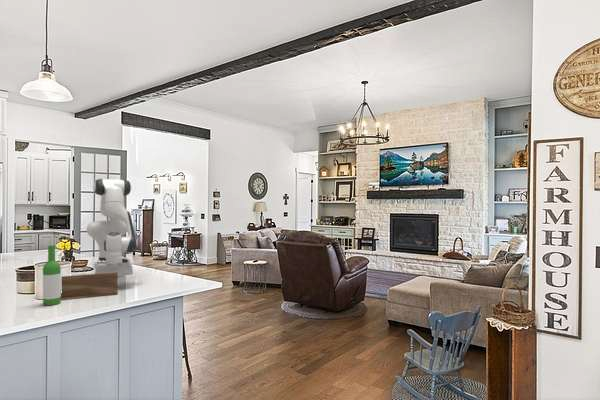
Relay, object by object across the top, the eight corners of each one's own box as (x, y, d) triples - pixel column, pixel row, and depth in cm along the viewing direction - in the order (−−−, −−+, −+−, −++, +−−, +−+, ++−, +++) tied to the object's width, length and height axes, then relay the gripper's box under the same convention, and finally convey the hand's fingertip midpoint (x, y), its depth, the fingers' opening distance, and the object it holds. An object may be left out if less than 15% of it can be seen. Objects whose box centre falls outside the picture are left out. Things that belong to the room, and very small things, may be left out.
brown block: (62, 294, 212) (62, 273, 212) (118, 289, 224) (117, 269, 224) (58, 300, 200) (58, 277, 200) (117, 294, 212) (117, 273, 212)
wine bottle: (53, 301, 199) (52, 244, 199) (64, 302, 196) (64, 244, 196) (39, 305, 191) (38, 246, 191) (50, 306, 189) (50, 246, 189)
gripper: (93, 262, 217) (94, 286, 217) (132, 259, 226) (132, 282, 226) (94, 260, 223) (94, 284, 223) (132, 258, 232) (132, 280, 232)
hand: (114, 283), depth 225 cm, fingers closed
